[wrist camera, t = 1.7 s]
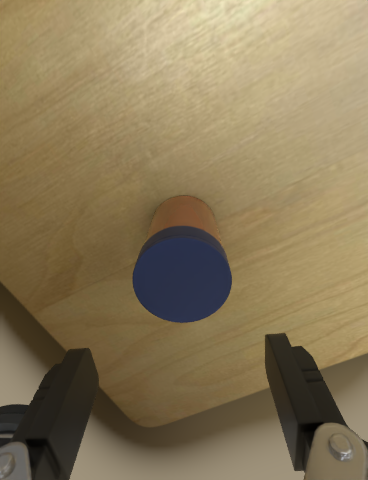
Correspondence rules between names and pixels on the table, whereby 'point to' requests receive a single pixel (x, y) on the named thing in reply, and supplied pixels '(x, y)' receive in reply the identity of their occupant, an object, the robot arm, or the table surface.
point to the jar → (184, 216)
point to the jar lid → (182, 274)
